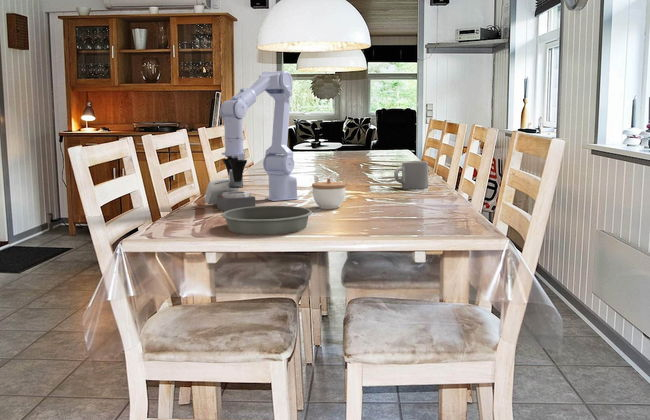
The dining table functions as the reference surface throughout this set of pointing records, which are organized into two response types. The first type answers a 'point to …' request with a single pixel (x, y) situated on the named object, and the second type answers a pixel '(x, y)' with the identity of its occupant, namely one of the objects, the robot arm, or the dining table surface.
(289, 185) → the robot arm
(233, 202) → the octagonal frame panel
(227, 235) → the dining table surface
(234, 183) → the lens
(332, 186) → the lidded jar
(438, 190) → the dining table surface
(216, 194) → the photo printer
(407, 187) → the coffee mug
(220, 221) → the dining table surface
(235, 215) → the cake pan
